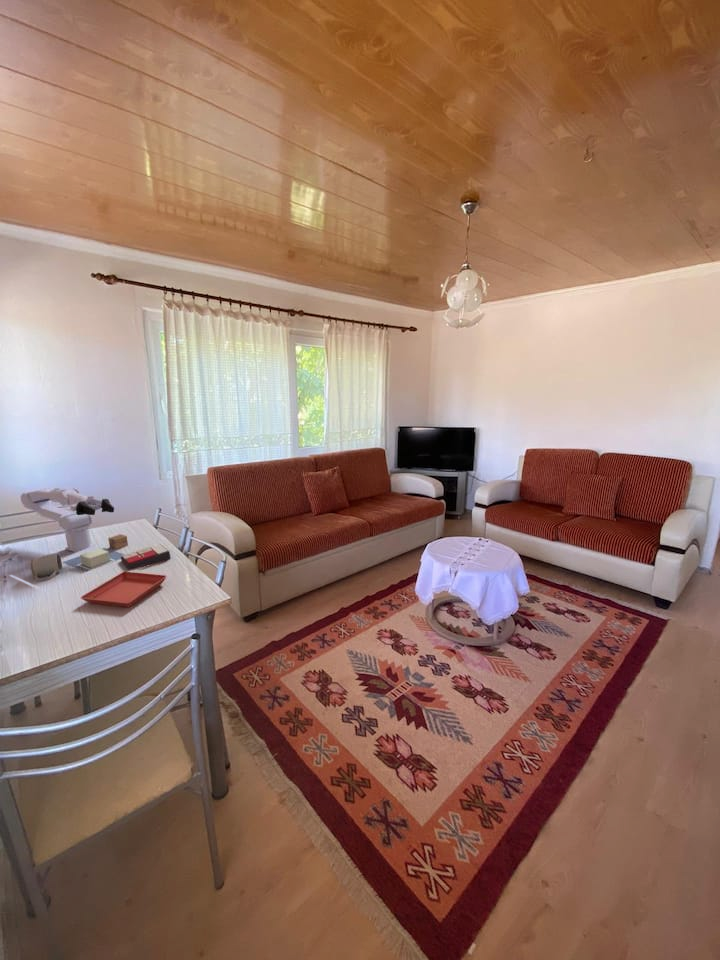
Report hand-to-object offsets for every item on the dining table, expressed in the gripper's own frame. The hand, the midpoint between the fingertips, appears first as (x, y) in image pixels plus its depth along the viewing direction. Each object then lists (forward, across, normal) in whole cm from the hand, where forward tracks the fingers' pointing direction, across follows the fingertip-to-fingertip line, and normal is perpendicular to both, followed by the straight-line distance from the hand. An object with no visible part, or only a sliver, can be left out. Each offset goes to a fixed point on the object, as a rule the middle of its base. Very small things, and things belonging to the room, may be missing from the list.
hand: (103, 511), depth 155 cm
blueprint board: (+2, -2, +20) cm, 20 cm away
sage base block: (+5, -5, +19) cm, 20 cm away
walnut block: (-2, +10, +19) cm, 21 cm away
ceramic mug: (-1, -18, +23) cm, 29 cm away
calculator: (+21, +5, +16) cm, 27 cm away
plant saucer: (+38, -16, +17) cm, 45 cm away
